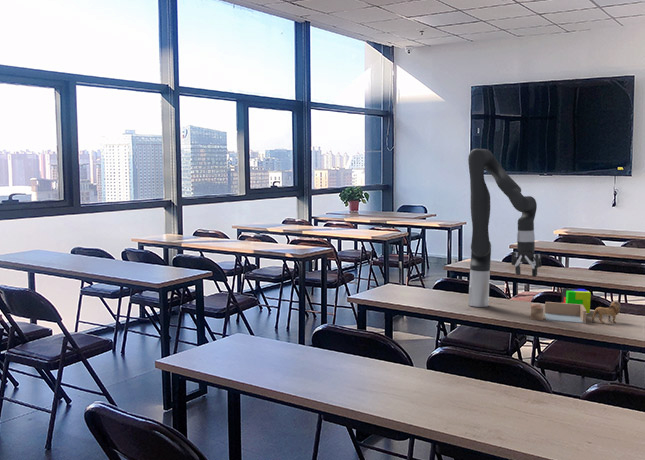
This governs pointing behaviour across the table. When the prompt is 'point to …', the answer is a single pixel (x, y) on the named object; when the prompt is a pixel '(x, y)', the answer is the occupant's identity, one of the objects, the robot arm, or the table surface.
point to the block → (536, 312)
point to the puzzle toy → (577, 297)
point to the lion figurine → (607, 312)
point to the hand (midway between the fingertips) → (526, 275)
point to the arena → (565, 312)
